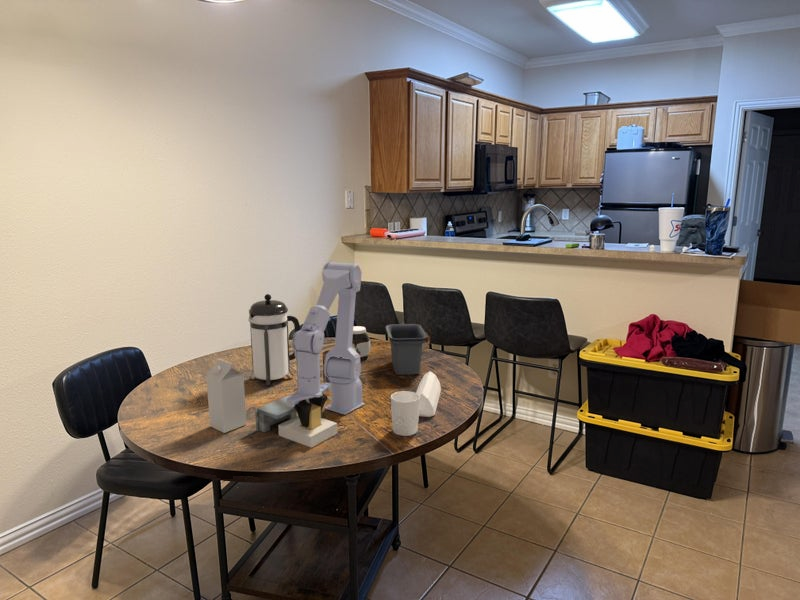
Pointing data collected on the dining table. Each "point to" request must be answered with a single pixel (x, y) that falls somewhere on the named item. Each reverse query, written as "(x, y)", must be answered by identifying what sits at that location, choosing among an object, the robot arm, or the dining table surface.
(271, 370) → the coffee press
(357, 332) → the spread jar
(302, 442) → the socket
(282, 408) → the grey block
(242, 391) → the milk carton
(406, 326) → the storage bin
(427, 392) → the white pentagonal prism
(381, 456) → the dining table surface
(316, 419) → the peg
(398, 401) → the white cup
